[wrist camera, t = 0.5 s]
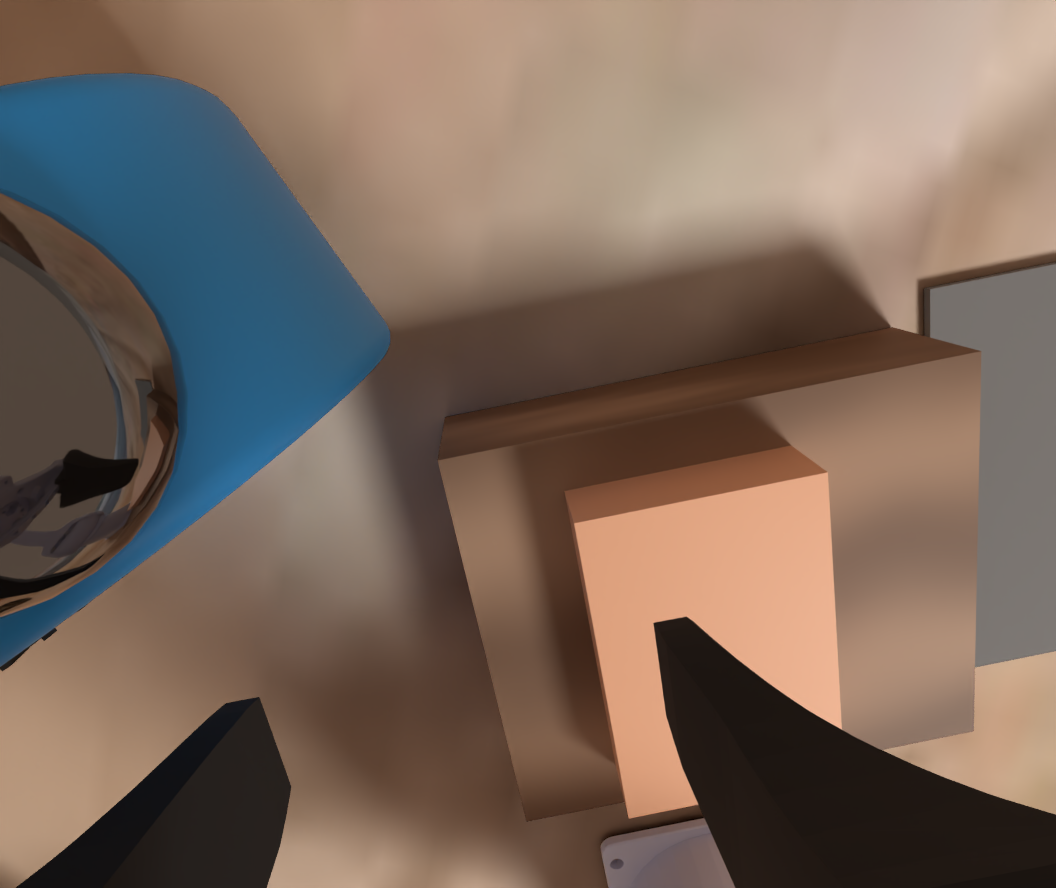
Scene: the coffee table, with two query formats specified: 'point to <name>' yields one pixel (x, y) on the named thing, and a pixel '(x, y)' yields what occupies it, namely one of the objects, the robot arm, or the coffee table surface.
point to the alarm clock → (147, 330)
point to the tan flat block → (709, 435)
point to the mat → (1010, 451)
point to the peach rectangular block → (705, 594)
